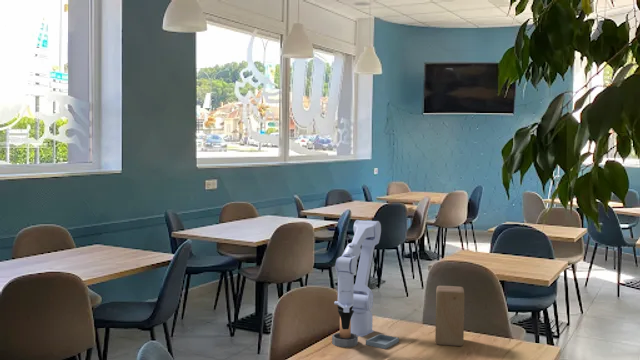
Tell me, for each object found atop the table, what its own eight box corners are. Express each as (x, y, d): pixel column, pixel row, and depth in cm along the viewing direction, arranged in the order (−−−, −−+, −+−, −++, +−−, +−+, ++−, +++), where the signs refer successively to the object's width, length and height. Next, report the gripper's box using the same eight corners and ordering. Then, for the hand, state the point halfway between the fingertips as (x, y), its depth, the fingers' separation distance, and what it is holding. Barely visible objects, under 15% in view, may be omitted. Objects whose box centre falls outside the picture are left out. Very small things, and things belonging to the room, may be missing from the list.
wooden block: (463, 347, 221) (464, 292, 220) (435, 345, 223) (436, 290, 222) (462, 338, 230) (463, 286, 229) (435, 336, 232) (436, 284, 231)
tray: (379, 339, 229) (379, 333, 229) (398, 343, 224) (398, 337, 224) (365, 345, 221) (365, 340, 221) (385, 350, 216) (385, 344, 216)
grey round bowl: (341, 338, 229) (341, 330, 229) (362, 343, 223) (362, 335, 223) (327, 345, 221) (327, 336, 221) (348, 350, 216) (348, 341, 216)
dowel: (343, 334, 225) (343, 312, 225) (352, 336, 223) (353, 314, 222) (337, 336, 222) (337, 314, 221) (346, 338, 219) (346, 316, 219)
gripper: (334, 285, 229) (333, 321, 229) (335, 294, 214) (334, 333, 215) (352, 285, 229) (352, 321, 229) (355, 294, 214) (354, 333, 215)
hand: (345, 327), depth 222 cm, fingers closed on dowel, 4 cm apart
